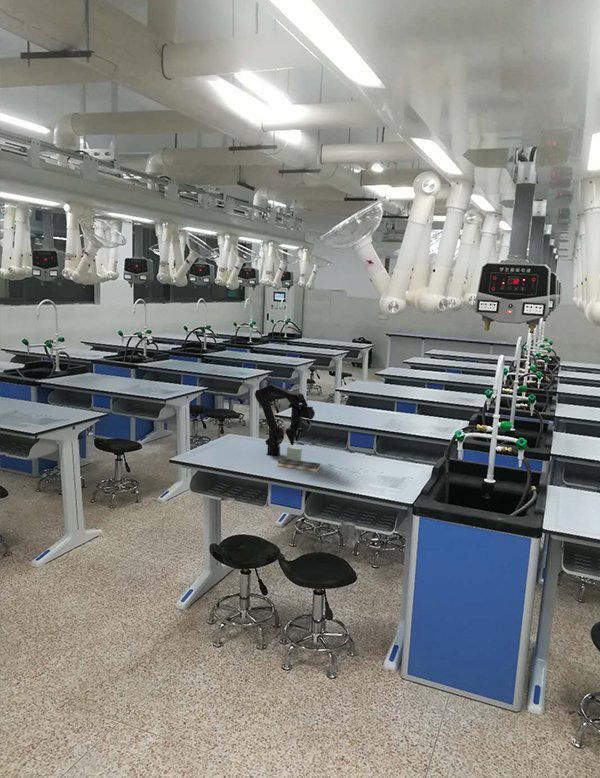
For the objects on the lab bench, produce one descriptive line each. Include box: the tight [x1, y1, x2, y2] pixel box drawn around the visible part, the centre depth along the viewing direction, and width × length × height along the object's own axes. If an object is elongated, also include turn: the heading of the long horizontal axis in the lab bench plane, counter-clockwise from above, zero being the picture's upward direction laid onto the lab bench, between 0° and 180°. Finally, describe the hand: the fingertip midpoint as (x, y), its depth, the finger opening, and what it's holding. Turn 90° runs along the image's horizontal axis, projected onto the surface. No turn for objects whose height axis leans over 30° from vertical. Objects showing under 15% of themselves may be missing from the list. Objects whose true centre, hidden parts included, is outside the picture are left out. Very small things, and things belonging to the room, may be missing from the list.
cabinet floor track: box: [276, 457, 322, 473], centre depth 312 cm, size 22×9×2 cm, turn 73°
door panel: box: [286, 446, 303, 461], centre depth 323 cm, size 8×2×7 cm, turn 73°
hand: (294, 443), depth 322 cm, fingers open, 9 cm apart
